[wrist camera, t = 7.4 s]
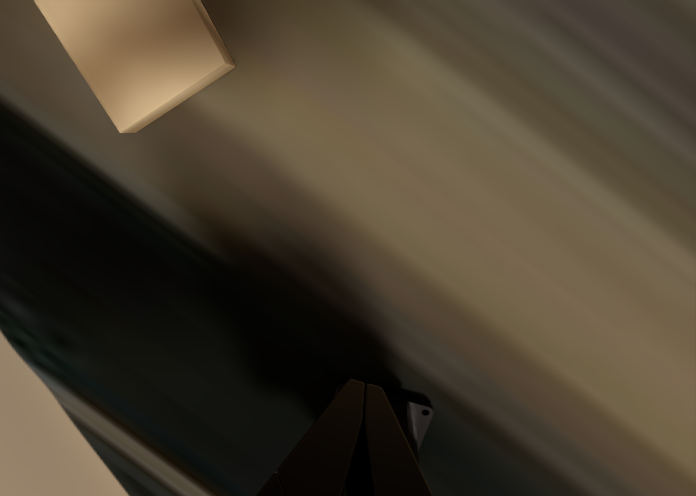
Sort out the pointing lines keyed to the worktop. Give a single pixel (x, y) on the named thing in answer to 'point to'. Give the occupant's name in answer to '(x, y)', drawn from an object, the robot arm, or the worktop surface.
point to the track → (139, 53)
